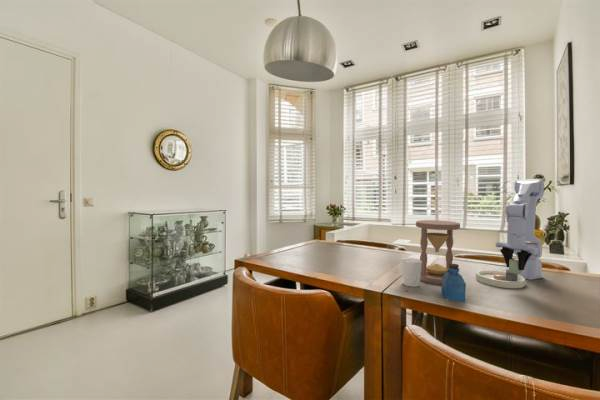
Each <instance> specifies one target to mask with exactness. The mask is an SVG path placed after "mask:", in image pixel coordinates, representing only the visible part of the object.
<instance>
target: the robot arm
mask: <svg viewBox="0 0 600 400" xmlns="http://www.w3.org/2000/svg"><path fill="white" fill-rule="evenodd" d="M513 185H514V192H515V194H514V196H513V197H512V200H511V202H510V203H509V204H506V206H505V216H506V222H507V231H506V233H507V234H506V238H507V239H506V242H504V241H503V242H501V241H496V242H495V247H496V248H500V253H501V255H502V257H503V259H504V261H505V265H506V268H509V259H513V256H514V255H515V257H516V259H518V260H519V266H518V267H519V270H521V274H518V275H520V276H522V277H524V278H525V280H530V281H531V280H536V279H543V278H544V276H543V275H542V273H543V270H542V269H543V266H542V265H543V263H542V260H541V259H540V258H541V257H542V255H543V242H542V240H541V239H540V238H539V237H537V236H536V235H535V233H536V231H535V230H536V216H537V215H536V212H537V203H538V200H539V199H542V198H543V196H544V194H545V193H544V192H545V191H544V190H545V180H544V179H543V178H528V179H527V178H522V179H521V178H520V179H519V178H517V179H515V181H514V184H513Z"/></svg>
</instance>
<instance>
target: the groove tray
mask: <svg viewBox="0 0 600 400" xmlns="http://www.w3.org/2000/svg"><path fill="white" fill-rule="evenodd" d="M475 279H476V281H478V282H480V283H481V284H486V285H488V286H493V287H498V288H506V289H521V288H524V287H525V286H526V278H524V277H522V276H520V275H518V281H506V271H504V270H496V269H495V270H494V269H481V270H477V271H476V272H475Z"/></svg>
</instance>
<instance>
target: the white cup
mask: <svg viewBox="0 0 600 400" xmlns="http://www.w3.org/2000/svg"><path fill="white" fill-rule="evenodd" d="M421 265H422V261H421V260H420V259H418V258H413V257H412V258H410V257H405V258H401V278H402V280H401V281H402V285H404V286H407V287H410V288H411V287H413V288H415V287H416V288H417V287H420V285H421V280H420V278H421Z"/></svg>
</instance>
